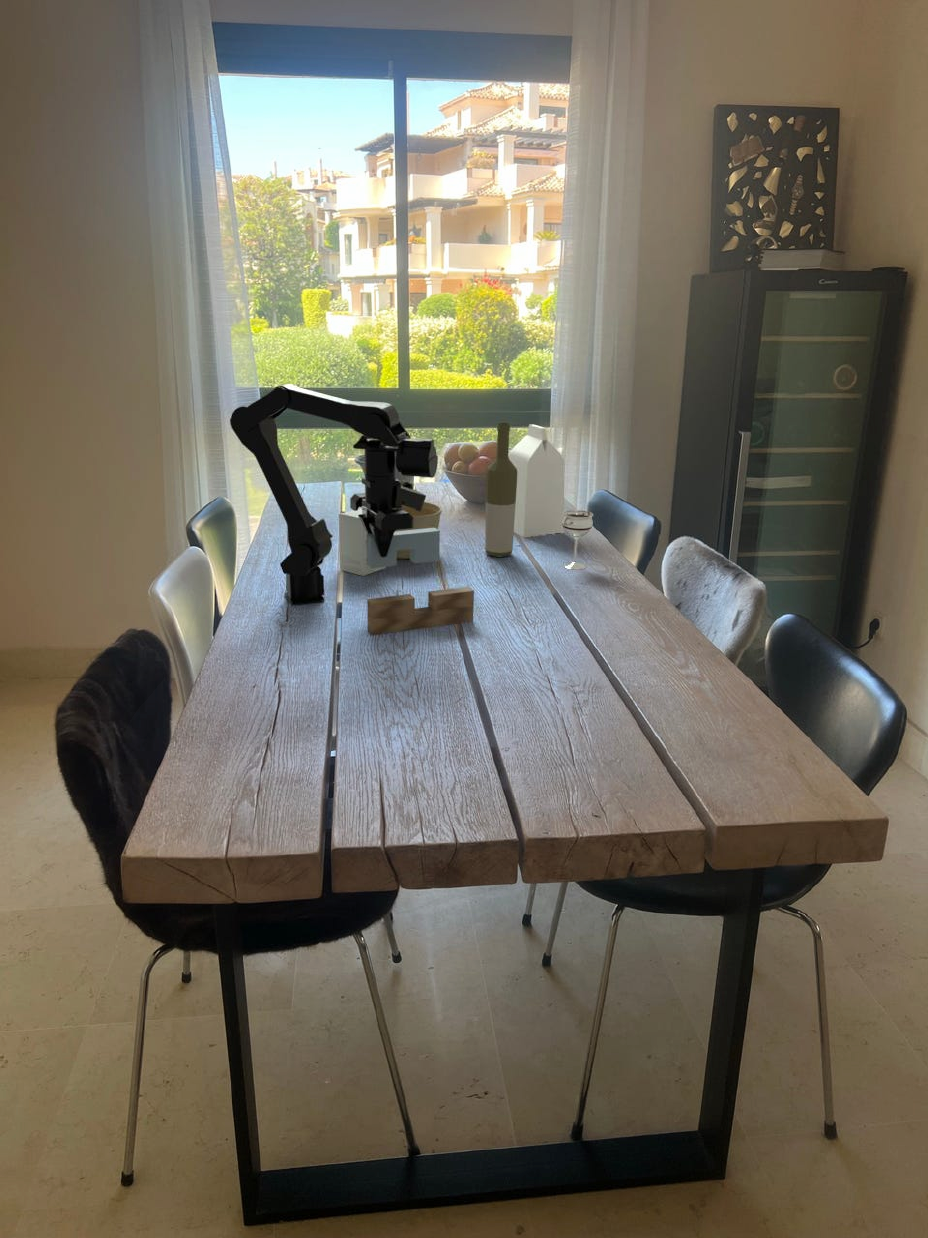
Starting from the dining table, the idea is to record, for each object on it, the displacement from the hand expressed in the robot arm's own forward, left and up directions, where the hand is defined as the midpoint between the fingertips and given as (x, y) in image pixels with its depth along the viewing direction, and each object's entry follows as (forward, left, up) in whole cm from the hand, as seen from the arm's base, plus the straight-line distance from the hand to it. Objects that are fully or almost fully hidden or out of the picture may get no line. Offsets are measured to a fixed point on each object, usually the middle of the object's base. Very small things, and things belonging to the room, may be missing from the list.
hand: (381, 554), depth 179 cm
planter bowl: (+17, +32, -11) cm, 38 cm away
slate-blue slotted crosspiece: (+4, 0, -2) cm, 5 cm away
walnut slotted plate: (+3, -12, -11) cm, 16 cm away
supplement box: (+4, +24, -11) cm, 27 cm away
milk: (+55, +41, -11) cm, 70 cm away
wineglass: (+49, +10, -11) cm, 52 cm away
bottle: (+37, +24, -11) cm, 46 cm away
